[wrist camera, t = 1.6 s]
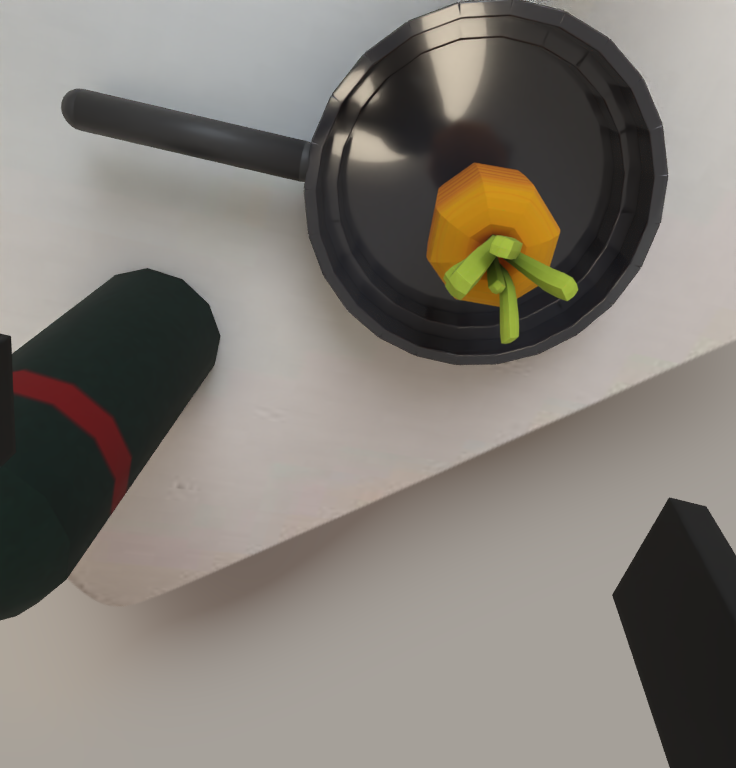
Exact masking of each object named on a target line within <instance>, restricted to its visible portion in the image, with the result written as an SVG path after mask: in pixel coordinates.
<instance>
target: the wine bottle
mask: <svg viewBox="0 0 736 768" xmlns="http://www.w3.org/2000/svg"><path fill="white" fill-rule="evenodd" d="M219 340H220V334H219V331H218V328H217V325H216V323H215V320H214V317H213V314H212V312H211V309H210V306H209V304H208V303H207V302H206V301H205V300H204V299H203V298H201V297H200V296H199V295H198V294H197V293H196V292H195V291H194V290H193V289H192V288H191V287H190V286H189V285H188V284H187V283H186V282H185V281H183V280H182V279H179V278H176V277H173V276H170V275H167V274H164V273H161V272H158V271H154V270H151V269H148V268H147V269H142V270H137V271H132V272H128V273H123V274H118V275H115V276H114V277H112V278H111V279H110V280H108V281H107V282H106V283H104V284H103V285H102V286H100V287H99V288H98V289H96V290H95V291H94V292H93V293H91V294H90V295H89V296H87V297H86V298H85V299H83V300H82V301H81V302H79V303H78V304H77V305H76V306H74V307H73V308H72V309H70V310H69V311H68V312H66V313H65V314H64V315H62V316H61V317H60V318H58V319H57V320H56V321H55V322H53V323H52V324H51V325H49V326H48V327H47V328H45V329H44V330H43V331H41V332H40V333H39V334H38V335H36V336H35V337H34V338H32V339H31V340H30V341H28V342H27V343H26V344H24V345H23V346H22V347H20V348H19V349H18V350H17V351H15V352H14V353H13V354H12V371H13V394H14V417H15V439H16V453H15V454H14V455H13V456H12V457H11V458H10V459H9V460H8V461H7V462H6V463H5V464H4V465H2V466H1V467H0V620H3V619H7V618H11V617H15V616H17V615H19V614H20V613H22V612H24V611H25V610H27V609H29V608H30V607H32V606H34V605H35V604H37V603H38V602H40V600H42V599H43V598H44V597H46V596H47V595H48V594H49V593H50V592H52V591H53V590H54V589H55V588H57V587H58V586H59V585H60V584H61V583H63V582H64V581H65V580H66V579H67V578H68V576H69V575H70V574H71V572H72V571H73V569H74V568H75V566H76V565H77V563H78V562H79V560H80V559H81V558H82V556H83V555H84V553H85V552H86V550H87V549H88V547H89V546H90V545H91V543H92V542H93V540H94V539H95V537H96V536H97V534H98V533H99V531H100V530H101V529H102V527H103V526H104V524H105V523H106V521H107V520H108V518H109V517H110V515H111V514H112V513H113V511H114V510H115V508H116V507H117V505H118V504H119V502H120V501H121V500H122V498H123V497H124V495H125V494H126V492H127V491H128V489H129V488H130V486H131V485H132V484H133V482H134V481H135V479H136V478H137V476H138V475H139V473H140V472H141V471H142V469H143V468H144V466H145V465H146V463H147V462H148V460H149V459H150V457H151V456H152V455H153V453H154V452H155V450H156V449H157V447H158V446H159V444H160V443H161V442H162V440H163V439H164V437H165V436H166V434H167V433H168V431H169V430H170V428H171V427H172V426H173V424H174V423H175V421H176V420H177V418H178V417H179V415H180V414H181V413H182V411H183V410H184V408H185V407H186V405H187V404H188V402H189V401H190V399H191V398H192V397H193V395H194V394H195V392H196V391H197V389H198V388H199V386H200V385H201V383H202V382H203V381H204V379H205V378H206V376H207V375H208V373H209V372H210V370H211V369H212V368H213V366H214V364H215V359H216V354H217V350H218V345H219Z"/></svg>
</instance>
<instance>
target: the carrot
mask: <svg viewBox="0 0 736 768" xmlns="http://www.w3.org/2000/svg"><path fill="white" fill-rule="evenodd" d="M559 234H560V228H559V226H558V225H557V223H556V221H555V220H554V218H553V216H552V215H551V213H550V211H549V210H548V208H547V206H546V205H545V203H544V201H543V200H542V198H541V196H540V195H539V193H538V191H537V190H536V188H535V186H534V185H533V184H532V182H531V181H530V180H529V179H528V178H527V177H526V176H525V175H523V174H522V173H521V172H520V171H518V170H515V169H509V168H503V167H497V166H492V165H486V164H480V163H473V164H471V165H470V166H468V167H467V168H466V169H464V170H463V171H461V172H460V173H459V174H457V175H456V176H454V177H453V178H451V179H450V180H449V181H447V182H446V183H444V184H443V185H442V186H441V187H440V188H439V189H438V194H437V199H436V203H435V208H434V213H433V218H432V223H431V228H430V233H429V238H428V244H427V255H426V257H427V260H428V261H429V262H430V264H431V265H432V267H433V268H434V270H435V271H436V272H437V274H438V275H439V277H440V278H441V280H442V281H443V283H444V284H445V287H446V289H447V290H448V291H449V293H450V294H451V295H452V296H453V297H454V298H455V299H458V300H463V301H469V302H475V303H480V304H486V305H492V306H498V307H500V337H501V343H502V344H507V343H511V342H512V341H514V340H515V339H516V338H518V337H519V315H518V305H517V298H519V297H521V296H522V295H524V294H526V293H527V292H529V291H531V290H532V289H534V288H536V287H537V286H539V287H540V288H542V289H543V290H544V291H546V292H548V293H549V294H551V295H553V296H555V297H557V298H559V299H562V300H565V301H568V300H570V299H571V298H573V297H574V296H575V294H576V293H577V291H578V287H577V283H576V282H575V281H574V279H573V278H572V277H570V276H568V275H567V274H565V273H562V272H560V271H558V270H555V269H553V268H551V267H550V264H551V261H552V258H553V254H554V251H555V248H556V244H557V241H558V238H559Z"/></svg>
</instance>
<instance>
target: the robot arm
mask: <svg viewBox="0 0 736 768" xmlns="http://www.w3.org/2000/svg"><path fill="white" fill-rule="evenodd" d="M15 453H16V439H15V417H14V394H13V371H12V348H11V336H8V335H4V334H0V467H1V466H2V465H4V464H5V463H6V462H7V461H8V460H9V459H10V458H11V457H12V456H13V455H14V454H15ZM612 596H613V599H614V602H615V605H616V608H617V610H618V614H619V616H620V620H621V622H622V625H623V628H624V631H625V634H626V638H627V640H628V644H629V647H630V649H631V652H632V655H633V659H634V661H635V665H636V668H637V671H638V674H639V677H640V680H641V682H642V686H643V689H644V691H645V695H646V697H647V700H648V704H649V707H650V710H651V713H652V716H653V719H654V721H655V724H656V728H657V731H658V733H659V736H660V740H661V743H662V746H663V749H664V752H665V755H666V758H667V761H668V764H669V767H670V768H736V555H735V553H734V552H733V550H732V548H731V547H730V545H729V543H728V542H727V540H726V538H725V537H724V535H723V534H722V532H721V530H720V528H719V527H718V525H717V523H716V522H715V520H714V518H713V517H712V515H711V514H710V512H709V510H708V509H707V507H706V506H702V505H698V504H694V503H690V502H686V501H682V500H678V499H673V498H669V499H668V500H667V502H666V504H665V506H664V507H663V509H662V511H661V512H660V514H659V516H658V518H657V519H656V521H655V523H654V524H653V526H652V528H651V530H650V531H649V533H648V535H647V536H646V538H645V540H644V542H643V543H642V545H641V547H640V548H639V550H638V552H637V553H636V555H635V557H634V559H633V560H632V562H631V564H630V565H629V567H628V569H627V571H626V572H625V574H624V576H623V577H622V579H621V581H620V583H619V584H618V586H617V588H616V589H615V591H614V593H613V595H612Z"/></svg>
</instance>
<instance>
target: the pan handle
mask: <svg viewBox="0 0 736 768" xmlns="http://www.w3.org/2000/svg"><path fill="white" fill-rule="evenodd" d="M61 110H62V114H63V116H64V118H65V120H66V121H67V122H68V123H69V124H70V125H71V126H72V127H74V128H75V129H78V130H81V131H85V132H89V133H93V134H98V135H102V136H106V137H111V138H115V139H119V140H124V141H128V142H132V143H137V144H141V145H145V146H149V147H154V148H158V149H162V150H167V151H171V152H175V153H180V154H184V155H188V156H193V157H197V158H201V159H205V160H210V161H214V162H218V163H223V164H227V165H231V166H236V167H240V168H244V169H249V170H253V171H257V172H261V173H266V174H270V175H274V176H279V177H283V178H287V179H292V180H296V181H300V182H305V177H306V173H307V171H308V168H309V151H310V145H311V143H310V142H307V141H303V140H299V139H295V138H290V137H286V136H282V135H278V134H273V133H269V132H265V131H260V130H256V129H252V128H248V127H243V126H239V125H235V124H231V123H226V122H222V121H218V120H213V119H209V118H205V117H201V116H196V115H192V114H188V113H184V112H179V111H175V110H171V109H166V108H162V107H158V106H154V105H149V104H145V103H141V102H136V101H132V100H128V99H124V98H119V97H115V96H111V95H107V94H102V93H98V92H94V91H89V90H85V89H74V90H71V91H69V92H68V93H67V94H66V95H65V96H64V97H63V100H62V103H61Z"/></svg>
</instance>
